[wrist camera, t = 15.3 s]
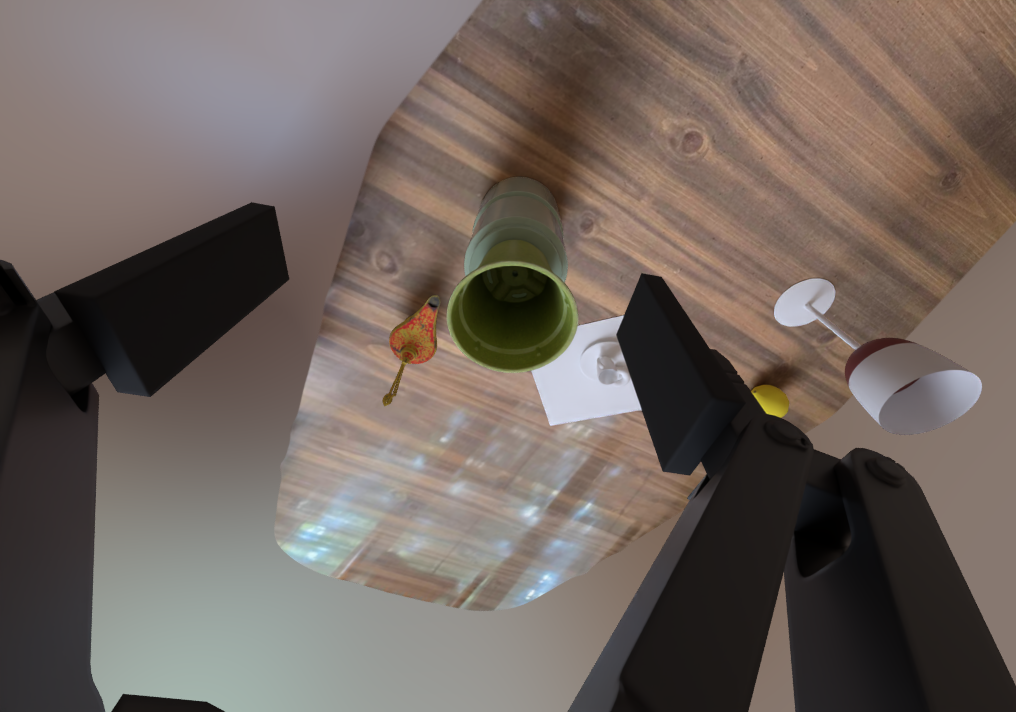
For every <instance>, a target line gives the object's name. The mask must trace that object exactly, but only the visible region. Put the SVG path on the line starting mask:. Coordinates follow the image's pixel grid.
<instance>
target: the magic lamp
mask: <svg viewBox="0 0 1016 712" xmlns="http://www.w3.org/2000/svg"><path fill="white" fill-rule="evenodd" d="M439 306H440V298H439V297H438V296H437V295H433V296H431V297H430V298H429V299H428V300H427V301H426V303H425V304H424V305H423V306H422V307H421V308H420V309H419V310H418V311H417V312H416V313H415V314H413V315H412V316H410V317H408V318H407V319H406V320H405V321H404V322H402V323H401V324H399V325H398V326H396V327H395V328H394V329H393V330H392V332H391V334H390V338H389V344H390V347H391V350H392V351H393V353H394V354H395V355H396V356H397V357H398V358H399V359H400V360H401V361H402V364H401V367H400V369H399V372H398V374H397V376H396V379H395V381H394V383H393V385H392V387H391V389H390V392H389V393H388V394H386V395H385V396H384V398H383V400H382V401H383V404H384V406H387V405H389V404H390V403H391V402H392V397H393V396H396V393H397V390H398V387H399V383H400V380H401V376H402V373H403V370H404V367H405V365H406V364H407V363H408V364H420V363H424V362H427V361H428V360H430V359H431V358H432V357H433V356H434V354H435V352H436V350H437V338H436V319H437V313H438V309H439ZM399 376H400V377H399ZM397 381H398V382H397ZM395 384H396V386H395ZM394 386H395V388H394ZM393 388H394V391H395V392H394V391H393V394H394V393H395V394H394V395H393V394H391V393H392V390H393ZM396 388H397V389H396ZM386 402H387V403H386Z"/></svg>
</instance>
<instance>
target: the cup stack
mask: <svg viewBox="0 0 1016 712" xmlns="http://www.w3.org/2000/svg"><path fill="white" fill-rule="evenodd" d="M507 240H523V241H526V242H528V243H530V244H532V245H534V246H535V247H537V248H538V249H539V250H540V251H541V252H542V253H543V254H544V256H545V257H546V259H547V262H548V264H549V266H550V268H551V270H552V272H553V273H554V274H556V275H557V276H558V277H559V278H560V279H561V280H562V281H563V282H564V283H565V280H566V276H567V270H568V261H567V255H566V250H565V246H564V241H563V228H562V223H561V219H560V214H559V210H558V206H557V203H556V200H555V198H554V196H553V195H552V194H551V192H550V191H549V190H548V189H547V188H546V187H545V186H544V185H543V184H541V183H540V182H538V181H536V180H534V179H531V178H527V177H512V178H508V179H505V180H503V181H500V182H499V183H497V184H496V185H494V186H493V187H492V188H491V189H490V190H489V191H488V193H487V194H486V196H485V197H484V199H483V201H482V203H481V206H480V209H479V212H478V214H477V217H476V220H475V223H474V226H473V234H472V237H471V239H470V242H469V245H468V248H467V251H466V254H465V260H464V269H465V275H466V276H467V275H468V274H469V273H471V272H472V271H474V270H475V269H477V268H478V267H479V265H480V263H481V262H482V260H483V258H484V257H485V255H486V254H487V253H488V252H489V250H490V249H491V248H492V247H494V246H495V245H497V244H499V243H501V242H503V241H507ZM542 274H543V273H541V272H540V275H542ZM512 275H513V276H514V277H516V276H517V272H516V271H513V273H512ZM487 277H488V279H489V282H490V283H493V281H492V278H491V272H490V270H488V271H487ZM526 295H527V293H522V294H514V295H512V297H515V298H521V297H524V296H526Z"/></svg>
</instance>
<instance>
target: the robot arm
mask: <svg viewBox="0 0 1016 712" xmlns="http://www.w3.org/2000/svg"><path fill="white" fill-rule="evenodd" d="M288 280H289V275H288V271H287V266H286V261H285V256H284V251H283V246H282V241H281V236H280V231H279V226H278V221H277V216H276V211H275V207H274V206H269V205H263V204H257V203H252V202H251V203H250V204H247V205H245V206H243V207H241V208H238V209H236V210H234V211H232V212H229V213H227V214H225V215H223V216H221V217H218V218H216V219H214V220H212V221H209V222H208V223H205V224H203V225H201V226H199V227H196V228H194V229H192V230H190V231H187V232H185V233H183V234H181V235H178V236H176V237H174V238H172V239H170V240H167V241H165V242H163V243H161V244H159V245H156V246H154V247H152V248H150V249H148V250H145V251H143V252H141V253H139V254H136V255H134V256H132V257H130V258H128V259H125V260H123V261H121V262H119V263H116V264H114V265H112V266H110V267H108V268H105V269H103V270H101V271H99V272H97V273H95V274H92V275H90V276H88V277H85V278H83V279H81V280H79V281H77V282H75V283H72V284H70V285H68V286H66V287H63V288H61V289H59V290H57V291H55V292H54V293H51V294H49V295H47V296H44V297H42V298H40V299H38V300H36V299H35V298H34V297H33V295H32V293H31V292H30V291H29V289H28V288H27V286H26V285H25V283H24V282H23V280H22V279H21V277H20V276H19V274H18V273H17V271H16V270H15V268H14V267H13V265H12V264H11V263H8V262H6V261H3V260H0V712H105V709H104V705H103V701H102V698H101V696H100V694H99V692H98V690H97V688H96V686H95V684H94V682H93V679H92V674H91V665H90V657H91V627H92V625H91V624H92V595H93V565H94V533H95V503H96V471H97V441H98V440H97V437H98V409H99V394H98V392H97V390H96V389H95V387H94V385H93V384H92V382H94V381H95V380H97V379H98V378H99V377H101V376H102V375H104V374H105V373H106V375H107V376H108V378H109V380H110V381H111V383H112V384H113V386H114V387H115V389H116V391H117V392H120V393H128V394H135V395H141V396H147V397H151V396H152V395H153V394H154V393H156V392H157V391H158V390H159V389H160V388H161V387H162V386H164V385H165V384H166V383H167V382H169V381H170V380H171V379H172V378H173V377H174V376H176V375H177V374H178V373H179V372H180V371H182V370H183V369H184V368H185V367H186V366H187V365H189V364H190V363H191V362H192V361H193V360H194V359H196V358H197V357H198V356H199V355H200V354H201V353H203V352H204V351H205V350H206V349H208V348H209V347H210V346H211V345H212V344H213V343H215V342H216V341H217V340H218V339H219V338H220V337H222V336H223V335H224V334H225V333H227V332H228V331H229V330H230V329H231V328H232V327H233V326H235V325H236V324H237V323H238V322H240V321H241V320H242V319H243V318H244V317H245V316H247V315H248V314H249V313H250V312H251V311H253V310H254V309H255V308H256V307H257V306H258V305H260V304H261V303H262V302H263V301H264V300H266V299H267V298H268V297H269V296H270V295H271V294H273V293H274V292H275V291H276V290H277V289H278V288H280V287H281V286H282V285H283V284H284V283H286V282H287V281H288ZM616 336H617V339H618V342H619V345H620V348H621V351H622V354H623V357H624V360H625V362H626V365H627V368H628V371H629V374H630V377H631V380H632V383H633V386H634V389H635V392H636V395H637V398H638V400H639V403H640V406H641V409H642V412H643V415H644V418H645V421H646V424H647V427H648V430H649V433H650V436H651V438H652V441H653V444H654V447H655V450H656V453H657V456H658V459H659V462H660V465H661V468H662V471H663V472H670V473H677V474H684V475H691V473H692V472H693V471H694V470H695V468H696V467H697V466H698V464H699V463H700V462H702V464H703V466H704V468H705V471H706V473H707V474H706V476H705V477H704V478H703V479H702V480H701V482H700V483H699V484H698V485H697V487H696V488H695V489H694V490H693V491H692V493H691V494H690V495H689V496H688V498H687V499H689V500H690V501H689V502H688V504H687V506H686V508H685V509H684V511H683V513H682V515H681V517H680V518H679V520H678V521H677V523H676V525H675V527H674V528H673V530H672V532H671V533H670V535H669V537H668V539H667V540H666V542H665V544H664V546H663V547H662V549H661V551H660V553H659V554H658V556H657V558H656V560H655V561H654V563H653V565H652V566H651V568H650V570H649V572H648V573H647V575H646V577H645V578H644V580H643V582H642V584H641V586H640V587H639V589H638V591H637V593H636V594H635V596H634V598H633V599H632V601H631V603H630V605H629V606H628V608H627V610H626V612H625V613H624V615H623V617H622V619H621V620H620V622H619V623H618V625H617V627H616V629H615V630H614V632H613V634H612V636H611V638H610V639H609V641H608V643H607V644H606V646H605V648H604V649H603V651H602V653H601V655H600V656H599V658H598V660H597V662H596V663H595V665H594V667H593V669H592V670H591V672H590V674H589V675H588V677H587V679H586V681H585V682H584V684H583V686H582V688H581V689H580V691H579V693H578V694H577V696H576V698H575V700H574V701H573V703H572V705H571V707H570V709H569V710H568V712H748V710H749V706H750V702H751V698H752V694H753V691H754V687H755V683H756V679H757V675H758V671H759V667H760V663H761V659H762V655H763V651H764V647H765V643H766V639H767V635H768V631H769V628H770V624H771V619H772V616H773V612H774V607H775V604H776V600H777V596H778V591H779V588H780V584H781V580H782V576H783V572H784V579H785V591H786V602H787V615H788V627H789V638H790V651H791V663H792V675H793V687H794V699H795V711H796V712H1016V686H1015V683H1014V681H1013V679H1012V677H1011V675H1010V673H1009V671H1008V669H1007V667H1006V665H1005V663H1004V660H1003V659H1002V656H1001V654H1000V652H999V650H998V648H997V646H996V644H995V642H994V639H993V637H992V635H991V633H990V631H989V629H988V627H987V625H986V623H985V621H984V619H983V617H982V614H981V612H980V610H979V608H978V606H977V604H976V602H975V600H974V598H973V596H972V594H971V591H970V589H969V587H968V585H967V583H966V581H965V579H964V577H963V575H962V573H961V571H960V568H959V566H958V564H957V562H956V560H955V558H954V556H953V554H952V552H951V550H950V548H949V546H948V544H947V541H946V539H945V537H944V535H943V533H942V531H941V529H940V527H939V525H938V523H937V520H936V518H935V516H934V514H933V512H932V510H931V508H930V506H929V504H928V502H927V500H926V497H925V495H924V493H923V491H922V489H921V487H920V486H919V484H918V483H917V482H916V480H915V479H914V478H913V477H912V476H911V475H910V474H909V473H908V472H907V471H906V470H905V468H903V467H902V466H901V465H900V464H898V463H895V461H894V460H892V459H891V458H889V457H885V456H883V455H881V454H879V453H877V452H875V451H872V450H868V449H865V448H855V449H853V450H852V451H850V452H849V453H848V454H847V455H846V456H845V457H843V458H842V459H838V458H836V457H833V456H830V455H828V454H825V453H822V452H820V451H817V450H814V449H813V444H812V443H811V442H810V440H809V438H808V437H807V436H806V435H805V434H804V433H803V432H802V431H801V430H800V429H799V428H797V427H796V426H794V425H793V424H791V423H790V422H788V421H786V420H784V419H782V418H780V417H777V416H774V415H770V414H766V412H765V411H764V409H763V408H762V406H761V405H760V404H759V402H758V401H757V399H756V398H755V397H754V395H753V394H752V392H751V391H750V390H749V388H748V387H747V385H745V384H744V381H743V380H742V378H741V377H740V375H737V371H736V370H735V368H734V367H733V366H732V364H731V363H730V361H729V360H727V359H726V358H725V357H724V356H723V355H721V354H720V353H719V352H718V351H717V350H714V349H710V348H709V347H708V345H707V344H706V342H705V341H704V339H703V338H702V336H701V335H700V333H699V332H698V330H697V329H696V328H695V326H694V325H693V323H692V322H691V320H690V319H689V317H688V316H687V314H686V313H685V311H684V310H683V308H682V307H681V305H680V304H679V302H678V301H677V299H676V298H675V296H674V295H673V293H672V292H671V290H670V289H669V287H668V286H667V284H666V283H665V281H664V280H663V278H662V277H659V276H654V275H648V274H643V273H642V274H641V276H640V278H639V281H638V283H637V286H636V288H635V291H634V293H633V295H632V298H631V300H630V303H629V305H628V307H627V310H626V312H625V315H624V317H623V319H622V322H621V324H620V327H619V329H618V331H617V334H616ZM112 712H224V711H223V710H221V709H219V708H217V707H215V706H213V705H211V704H210V703H208V702H202V701H192V700H181V699H171V698H161V697H150V696H139V695H129V694H123V695H122V696H121V698H120V699H119V701H118V703H117V704H116V706H115V707H114V709H113V710H112Z"/></svg>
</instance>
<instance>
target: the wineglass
mask: <svg viewBox="0 0 1016 712" xmlns="http://www.w3.org/2000/svg"><path fill="white" fill-rule="evenodd" d="M834 299H835V289H834V286H833V285H832V284H831V283H830V282H829V281H827V280H824V279H821V278H818V279H808V280H805V281H801V282H799V283H797V284H795V285H793V286H792V287H790V288H789V289H788V290H787V291H785V292H784V293H783V294H782V295H781V297H780V298H779V299H778V300H777V303H776V305H775V308H774V316H775V318H776V320H777V321H778V322H779V323H781V324H782V325H786V326H800V325H804V324H808V323H810V322H812V321H814V320H816V319H818V320H820V321H821V322H822V323H823V324H824V325H826V326H827V327H828V328H829V329H830V330H832V331H833V332H834V333H835V334H836V335H838V336H839V337H840V338H841V339H842V340H844V341H845V342H846V343H847V344H848V345H850V346H851V347H852V348H853V349H855V351H854V352H853V353H852V354H851V356H850V357H849V359H848V361H847V363H846V366H845V377H846V381H847V384H848V386H849V388H850V390H851V392H852V393H853V395H854V396H855V397H856V399H857V400H858V401H859V402H860V403H861V405H862V406H863V407H864V408H865V409H866V411H867V412H868V413H869V414H870V415H871V416H872V417H873V418H874V419H875V420H876V421H877V423H878V424H879V425H880V426H881V427H882V428H883V429H885V430H886V431H888V432H890V433H893V434H899V435H912V434H919V433H924V432H928V431H931V430H934V429H937V428H939V427H942V426H944V425H946V424H948V423H950V422H952V421H954V420H955V419H957V418H958V417H960V416H962V415H963V414H964V413H965V412H967V411H968V410H969V409H970V408H971V407H972V406H973V405H974V403H975V402H976V401H977V399H978V397H979V396H980V393H981V390H982V384H981V381H980V379H979V378H978V377H977V376H976V375H975V374H973V373H972V372H970V371H969V370H967V369H965V368H964V367H962V366H960V365H959V364H957V363H955V362H953V361H952V360H950V359H948V358H946V357H945V356H943V355H941V354H939V353H937V352H935V351H933V350H931V349H928V348H926V347H924V346H922V345H919V344H917V343H914V342H911V341H907V340H903V339H899V338H882V339H876V340H872V341H870V342H867V343H865V344H863V345H860V344H859V343H858V342H857V341H855V340H854V339H853V338H852V337H850V336H849V335H848V334H847V333H845V332H844V331H843V330H842V329H840V328H839V327H838V326H837V325H835V324H834V323H833V322H832V321H830V320H829V319H828V318H827V317H825V316H824V315H823V314H824V313H825V312H826V311H827V310H828V309H829V308H830V306H831V305H832V303H833V301H834Z"/></svg>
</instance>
